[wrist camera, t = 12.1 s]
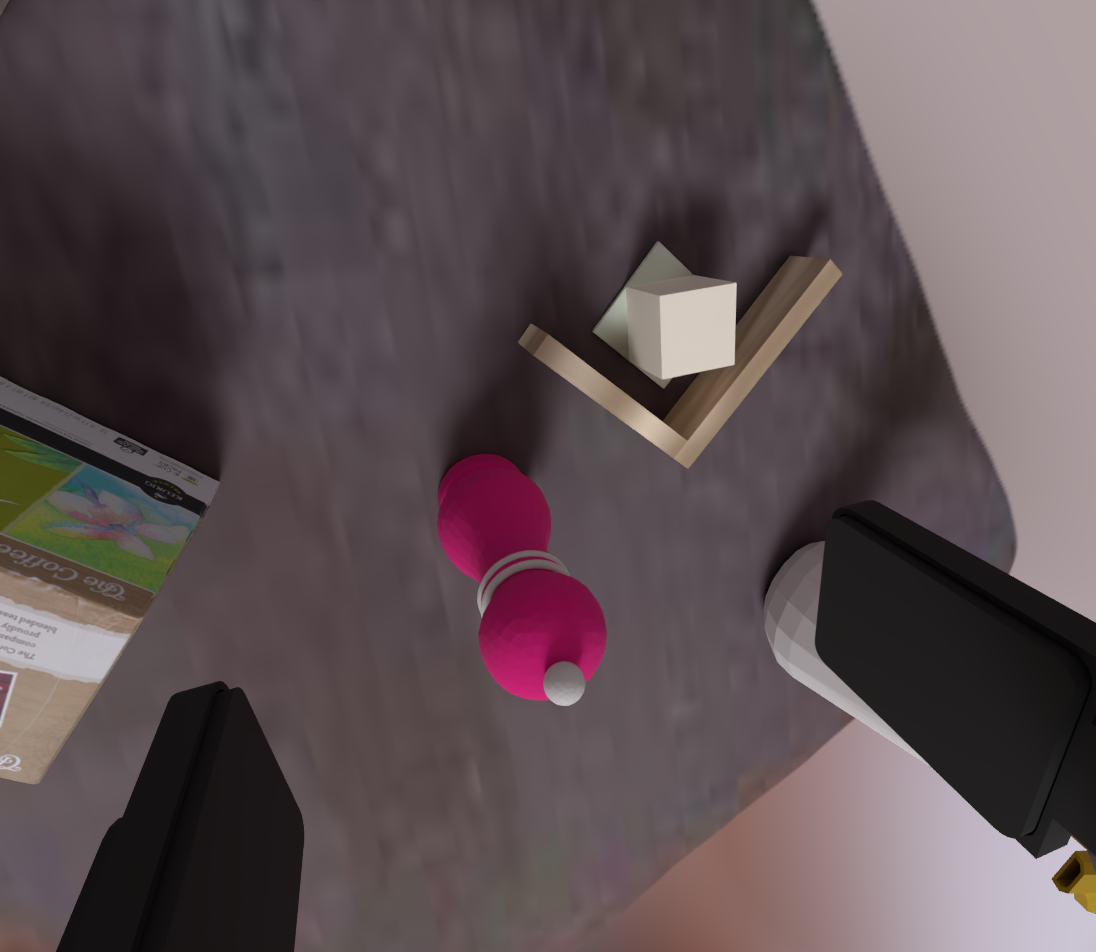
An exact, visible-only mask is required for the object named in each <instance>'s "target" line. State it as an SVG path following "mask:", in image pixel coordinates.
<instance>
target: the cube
mask: <svg viewBox="0 0 1096 952" xmlns="http://www.w3.org/2000/svg"><path fill="white" fill-rule="evenodd" d="M736 285H737V283H735V282H730V281H724V280H719V279H713V278H707V277H702V276H696V275H693V276H687V277H681V278H675V279H669V280H663V281H657V282H651V283H645V284H639V285H633V286H627V287H625V290H626V308H627V326H628V345H629V362H631V363H633V364H634V365H636V366H638V367H640V368H642V369H644V370H645V371H647V372H649V373H651V374H653V375H655V376H656V377H658V378H660V379H662V380H663V379H668V378H673V377H678V376H683V375H687V374H692V373H697V372H702V371H707V370H712V369H717V368H722V367H726V366H731V365H734V364H735V325H736Z"/></svg>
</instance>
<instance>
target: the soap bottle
mask: <svg viewBox="0 0 1096 952" xmlns="http://www.w3.org/2000/svg"><path fill="white" fill-rule="evenodd" d="M824 545H825V541H821V542H815V543H810V544H808V545H806V546H804V547H803V548H801V549H799V550H798V551H796V552H795V553H794V554H793V555H792V556H791V557H790V558H789V559H788V560H787V561H786V562H785V563H784V564H783V565H782V567H781V568H780V570H779V571H778V573H777V574H776V576H775V577H774V579H773V580H772V583H771V585H770V587H769V590H768V592H767V594H766V597H765V603H764V610H763V613H764V624H765V630H766V633H767V637H768V640H769V643H770V645H771V648H772V650H773V653H774V655H775V657H776V660H777V662H778V663H779V664H780V665H781V666H782V667H783V668H784V669H785V670H786V671H787V672H788V673H789V674H790V675H791V676H792V677H794V678H795V679H797V680H798V681H800V682H801V683H803V684H804V685H806V686H807V687H809V688H810V689H812V690H813V691H815V692H817V693H818V694H820V695H821V696H823V697H824V698H826V699H827V700H829V701H830V702H832V703H833V704H835V705H836V706H838V707H840V708H841V709H843V710H844V711H846V712H847V713H849V714H850V715H852V716H853V717H855V718H856V719H858V720H859V721H861V722H863V723H864V724H866V725H867V726H869V727H870V728H872V729H873V730H875V731H876V732H878V733H879V734H881V735H882V736H884V737H886V738H887V739H889V740H890V741H892V742H893V743H895V744H896V745H898V746H899V747H901V748H902V749H904V750H905V751H907V752H909V753H910V754H912V755H913V756H915V757H916V758H918V759H919V760H921V761H922V762H924V763H925V764H927V765H929V764H928V763H927V762H926V761H925V760H924V759H923V758H922V757H920V756H919V755H918V754H917V753H916V752H915V751H914V750H913V749H912V748H911V747H910V746H909V745H908V744H907V743H906V742H905V741H904V740H903V739H902V738H901V737H900V736H899V735H898V734H897V733H896V732H895V731H894V730H893V729H892V728H891V727H889V726H888V725H887V724H886V723H885V722H884V721H883V720H882V719H881V718H880V717H879V716H878V715H877V714H876V713H875V712H874V711H873V710H872V709H871V708H870V707H869V706H868V705H867V704H866V703H865V702H864V701H863V700H862V699H861V698H859V697H858V696H857V695H856V694H855V693H854V692H853V691H852V690H851V689H850V688H849V687H848V686H847V685H846V684H845V683H844V682H843V681H842V680H841V679H840V678H839V677H838V676H837V675H836V674H835V673H834V672H833V671H832V670H831V669H830V668H828V667H827V666H826V665H825V664H824V662H823V661H822V660H821V659H820V657H819V655H818V653H817V651H816V648H815V632H816V622H817V612H818V603H819V593H820V583H821V574H822V564H823V554H824ZM929 766H930V765H929ZM930 767H931V766H930ZM1071 836H1072V837H1073V838H1074V839H1075V840H1077V839H1076V838H1075V837H1074V836H1073V835H1071ZM1077 842H1079V841H1078V840H1077ZM1079 843H1080V844H1081V845H1082V846H1083V847H1084V848H1086V847H1085V846H1084V845H1083V844H1082V843H1081V842H1079ZM1086 849H1087V848H1086ZM1052 880H1053V882H1054V883H1055V885H1056V887H1057V888H1058V890H1059V891H1062V892H1065V893H1074V898H1075V900H1076V901H1078V902H1079V903H1080V904H1081V905H1082V906H1083V907H1084V908H1085V909H1086V910H1087V911H1089V912H1092V913H1095V914H1096V873H1095V870H1094V868H1093V865H1092V862H1091V859H1090V856H1089V853H1088V851H1075V852H1074V853H1073V854H1072V856H1071V857H1070V858H1069V859H1068V860H1067V862H1066V863H1065V864H1064V865H1063V866H1062V867H1061V868H1060V870H1059V871H1058V872H1057V873H1056V874H1055V875H1054V877H1053V878H1052Z"/></svg>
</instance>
